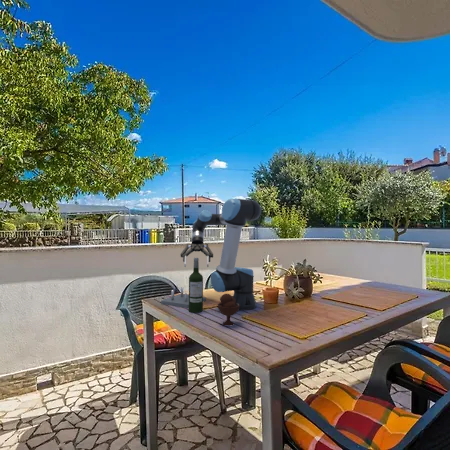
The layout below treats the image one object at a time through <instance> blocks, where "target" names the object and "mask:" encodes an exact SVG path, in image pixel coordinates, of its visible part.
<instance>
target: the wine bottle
mask: <svg viewBox="0 0 450 450" xmlns="http://www.w3.org/2000/svg"><path fill="white" fill-rule="evenodd" d="M199 261H200V259H199V257H194V258H193V272H192V273H191V274H190V275H189V277H188V295H189V308H188V312H189V313H192V314H199V313H202V312H203V309H204V308H203V307H204V305H203V304H204V303H203V297H204V278H203V275H202V273H200V270H199V268H200V267H199Z"/></svg>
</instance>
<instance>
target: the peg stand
mask: <svg viewBox="0 0 450 450" xmlns="http://www.w3.org/2000/svg"><path fill="white" fill-rule="evenodd" d="M170 294H171V295H170V297H167V298H165V299H162V300H160V304H161V305H166V306H172V307H177V308H184V309H189V294H188V291H184V287H183V286H182V287H180V293H179V294H177V295H175V289H172V290H171V293H170ZM205 300H206V301H207V299H206V297H205V296H203V301H204V302H206V301H205Z"/></svg>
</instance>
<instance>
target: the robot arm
mask: <svg viewBox="0 0 450 450" xmlns="http://www.w3.org/2000/svg"><path fill="white" fill-rule="evenodd" d="M261 214H262V207H261V205H260V204H259V203H258V202H257V201H255V200H254V199H246V198H245V199H243V198H230V199H227V200H226V201H225V202H224V203H223V206H222V209H221V213H212V212H211V211H209V210H207V209H204V210H202V211H200V213H199V214H198V217H197V219H196V220H193V221H194V222H192V234H191V244H189V243H186V246H185V247H184V248H183V250H182V251H181V253H180V258H182V261H183V263H184V267H185V268H186V266H187V257H188V256H189V255H190V254H192V253H193V252H201V253H202V254H204V255H205V257H206V260H207V261H206V262H207V263H206V266H207V268H209V264H210V262H211V258H212V259H213V258H214V253H213V252H212V250H211V249H210V247H209V244H208V243H206V244H204V233H205V232H204V231H205V230H206V228H207V226H226V227H225V232H224V238H223V244H222V249H221V250H222V251H221V256H220V262H219V264H218V265H217V266H216V269H215V271H213V272H212V273H210V283H211V286H212V288H213V289H214V291H215V292H216V293H225V292H231V291H233V295H232V297H233V298H235V299H236V303H238V304H239V305H240V307H239V310H240V311H241V310H243V311H244V310H245V311H246V310H254V309H256V308H257V302H256V298H255V295H254V276H255V275H254V270H253V269H252V268H247V267H241V266H239V267H237V266H236V261H237V256H238V251H239V244H240V241H241V236H242V230H243V229H242V228H244V227H245V226H246V223H247V222H249V221H250V222H251V221H255V220H258V219H259V217H261Z"/></svg>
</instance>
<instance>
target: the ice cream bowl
mask: <svg viewBox="0 0 450 450" xmlns="http://www.w3.org/2000/svg"><path fill="white" fill-rule="evenodd" d="M219 301H220V302H219V303H217V308H218V311H219V313H220V314H221V315H223V316H226V320H225V321H223V323H222V325H223V326H225V325H232V326H234V325H233V324H235V323H234V321H232V320H231V317H232V316H234V315H235V314H237V313H238V311H239V310H240V309H239V307H240V305H239V304H238V303H236V299H235V298H233V295H231V294H229V293H224V294H222V295H221V296H220V298H219Z"/></svg>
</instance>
